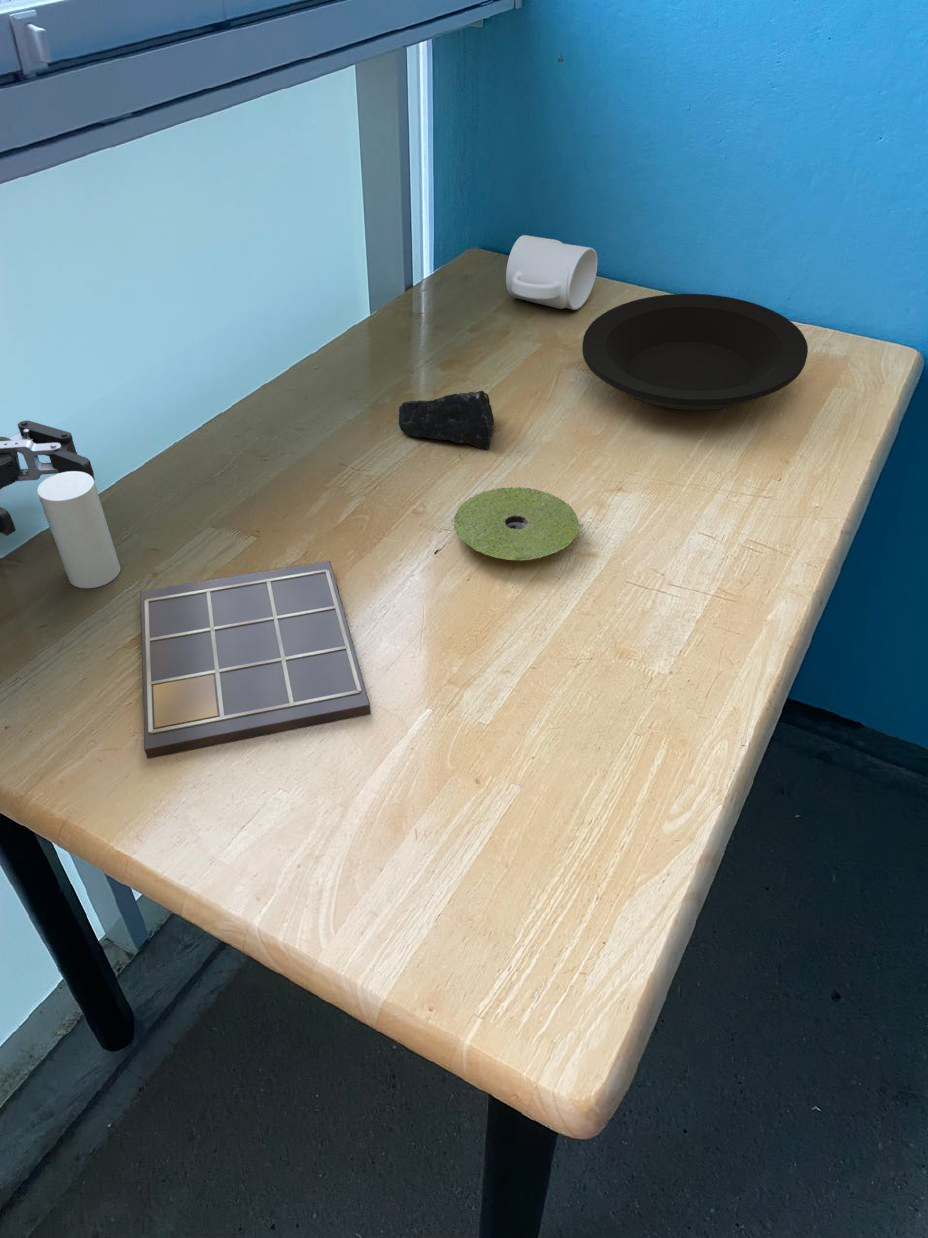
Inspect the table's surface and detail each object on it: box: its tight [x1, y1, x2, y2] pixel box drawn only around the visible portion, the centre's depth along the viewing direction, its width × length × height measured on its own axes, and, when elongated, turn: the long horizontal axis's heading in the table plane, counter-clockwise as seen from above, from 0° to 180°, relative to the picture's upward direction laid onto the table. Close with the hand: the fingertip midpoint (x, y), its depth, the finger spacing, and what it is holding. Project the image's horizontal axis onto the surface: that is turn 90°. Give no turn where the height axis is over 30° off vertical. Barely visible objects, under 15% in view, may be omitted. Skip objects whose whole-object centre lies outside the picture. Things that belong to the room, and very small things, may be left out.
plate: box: [581, 293, 809, 411], centre depth 105 cm, size 28×24×6 cm
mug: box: [505, 234, 598, 311], centre depth 122 cm, size 12×9×8 cm
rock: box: [398, 390, 495, 451], centre depth 98 cm, size 7×10×6 cm
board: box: [139, 560, 372, 759], centre depth 73 cm, size 16×18×1 cm
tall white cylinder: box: [36, 471, 121, 589], centre depth 78 cm, size 4×4×9 cm
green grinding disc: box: [453, 486, 580, 561], centre depth 84 cm, size 11×11×2 cm
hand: (51, 497), depth 78 cm, fingers open, 8 cm apart
